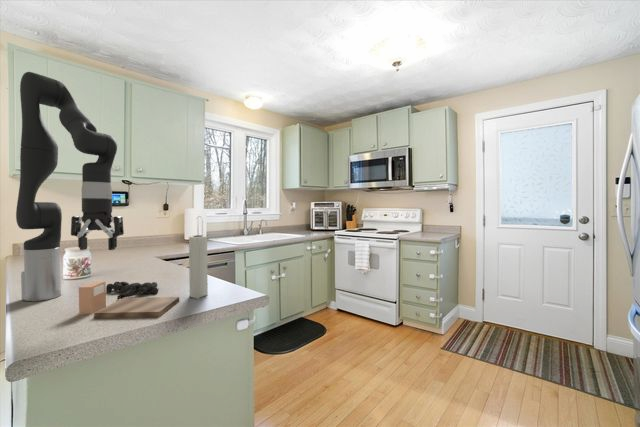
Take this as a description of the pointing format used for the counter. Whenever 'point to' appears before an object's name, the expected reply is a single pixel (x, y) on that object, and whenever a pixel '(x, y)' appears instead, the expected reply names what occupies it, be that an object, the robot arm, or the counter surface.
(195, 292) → the paper towel roll
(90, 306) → the labeled cardboard box
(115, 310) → the board
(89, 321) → the counter surface
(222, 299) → the counter surface
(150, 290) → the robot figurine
